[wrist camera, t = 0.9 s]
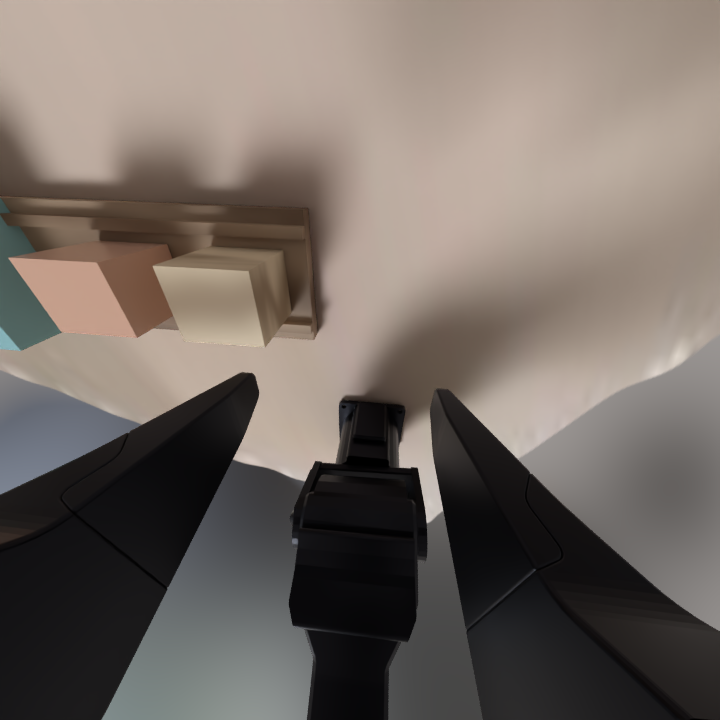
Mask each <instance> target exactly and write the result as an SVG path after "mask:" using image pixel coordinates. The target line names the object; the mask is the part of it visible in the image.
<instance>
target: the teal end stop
mask: <svg viewBox="0 0 720 720" xmlns="http://www.w3.org/2000/svg"><path fill="white" fill-rule="evenodd" d="M0 213H10V211H9V210H8V208H7V207H6V205H5V204H4V202H3V201H2V199H1V198H0ZM34 252H36V251H35V250H34V248H33V247H32V245H31V243H30V242H29V240H28V239H27V237H26V236H25V234H24V233H23V231H22V230H21V228H20V227H19V226H7V224H6V223H5V221H4V220H3V218H2V217H1V216H0V349H6V350H18V351H21V350H24V349H26V348H28V347H30V346H33V345H35V344H37V343H39V342H41V341H44V340H46V339H48V338H50V337H53V336H55V335H57V334H59V333H62V332H61V331H60V329H59V328H58V327H57V325H56V324H55V322H54V321H53V320H52V318H51V317H50V316H49V314H48V313H47V311H46V310H45V309H44V307H43V306H42V304H41V303H40V302H39V300H38V299H37V297H36V296H35V295H34V293H33V292H32V291H31V289H30V288H29V286H28V285H27V284H26V282H25V281H24V279H23V278H22V277H21V275H20V274H19V272H18V271H17V270H16V268H15V267H14V266H13V264H12V263H11V261H10V260H9V259H8V257H13V256H19V255H24V254H29V253H34Z"/></svg>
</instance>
